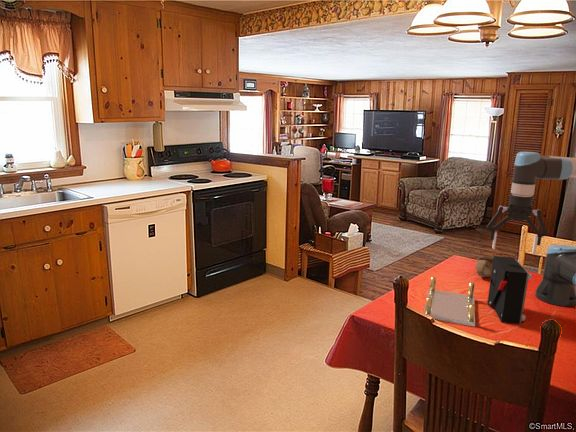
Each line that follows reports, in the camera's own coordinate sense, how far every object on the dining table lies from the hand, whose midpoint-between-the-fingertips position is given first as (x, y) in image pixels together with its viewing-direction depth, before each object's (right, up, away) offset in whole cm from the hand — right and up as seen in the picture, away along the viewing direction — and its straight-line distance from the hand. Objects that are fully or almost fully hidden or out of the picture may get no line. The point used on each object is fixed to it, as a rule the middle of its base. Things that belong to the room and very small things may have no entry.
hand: (513, 250), depth 168 cm
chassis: (-20, -23, +9) cm, 32 cm away
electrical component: (0, -25, +6) cm, 26 cm away
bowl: (+11, -16, +45) cm, 48 cm away
